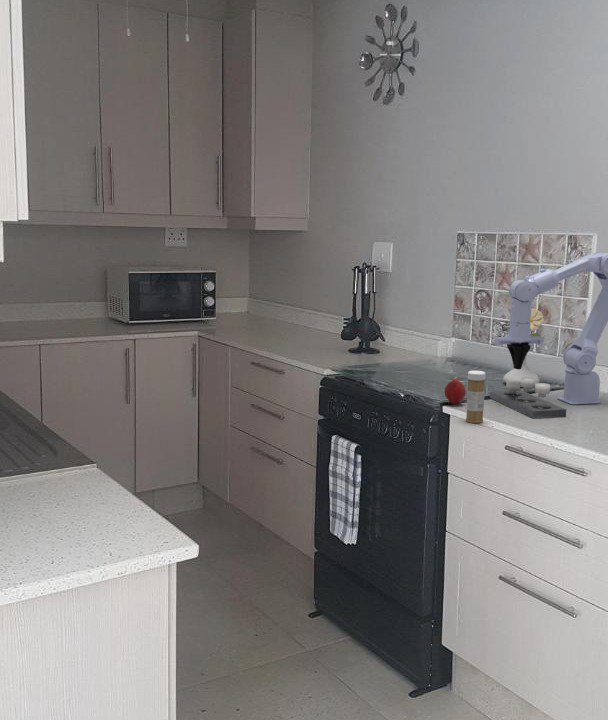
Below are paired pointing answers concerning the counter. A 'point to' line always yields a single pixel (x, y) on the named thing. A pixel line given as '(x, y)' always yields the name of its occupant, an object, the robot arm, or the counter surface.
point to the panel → (528, 404)
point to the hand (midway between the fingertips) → (517, 368)
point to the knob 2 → (542, 389)
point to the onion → (455, 391)
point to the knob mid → (527, 383)
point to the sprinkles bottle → (475, 396)
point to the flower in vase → (525, 371)
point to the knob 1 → (513, 386)
